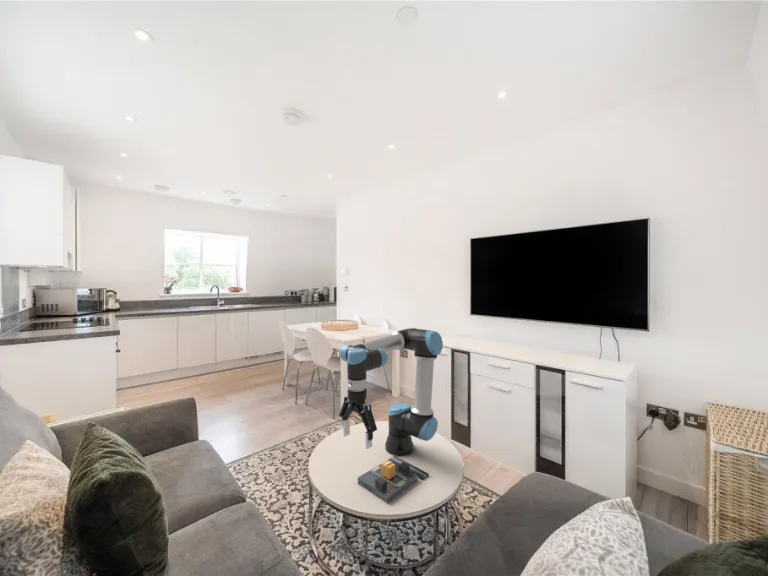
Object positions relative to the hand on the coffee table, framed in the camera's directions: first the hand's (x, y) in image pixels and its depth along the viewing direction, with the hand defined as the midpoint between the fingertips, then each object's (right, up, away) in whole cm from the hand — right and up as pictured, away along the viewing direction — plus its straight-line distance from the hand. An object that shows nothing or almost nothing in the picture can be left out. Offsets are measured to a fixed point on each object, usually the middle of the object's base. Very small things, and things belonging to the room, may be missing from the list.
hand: (357, 441), depth 127 cm
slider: (+12, -22, +14) cm, 29 cm away
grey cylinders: (+22, -25, +25) cm, 41 cm away
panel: (+12, -25, +14) cm, 32 cm away
